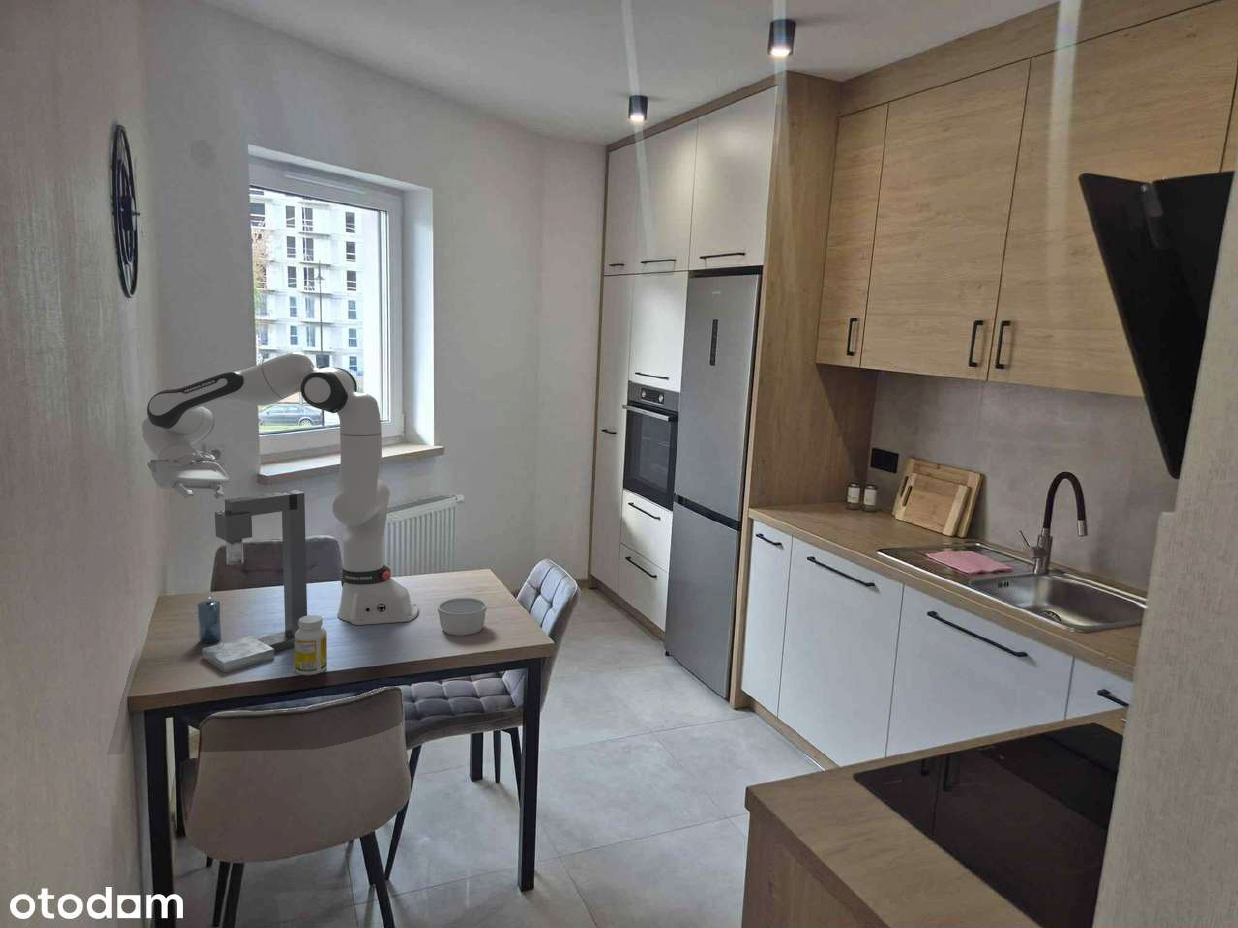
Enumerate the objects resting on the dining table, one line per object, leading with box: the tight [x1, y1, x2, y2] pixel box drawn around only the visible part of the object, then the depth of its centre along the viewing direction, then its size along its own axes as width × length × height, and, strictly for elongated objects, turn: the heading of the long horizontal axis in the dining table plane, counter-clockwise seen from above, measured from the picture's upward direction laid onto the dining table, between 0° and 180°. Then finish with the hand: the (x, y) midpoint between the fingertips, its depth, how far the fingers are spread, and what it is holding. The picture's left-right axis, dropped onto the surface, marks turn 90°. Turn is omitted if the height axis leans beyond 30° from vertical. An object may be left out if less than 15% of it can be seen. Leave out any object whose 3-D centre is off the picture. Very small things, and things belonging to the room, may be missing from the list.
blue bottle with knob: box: [197, 596, 222, 645], centre depth 202 cm, size 5×5×12 cm
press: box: [202, 489, 308, 674], centre depth 194 cm, size 23×12×40 cm, turn 140°
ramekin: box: [437, 597, 487, 637], centre depth 218 cm, size 13×13×7 cm
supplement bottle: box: [294, 614, 328, 676], centre depth 188 cm, size 7×7×13 cm
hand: (205, 497), depth 208 cm, fingers open, 8 cm apart
